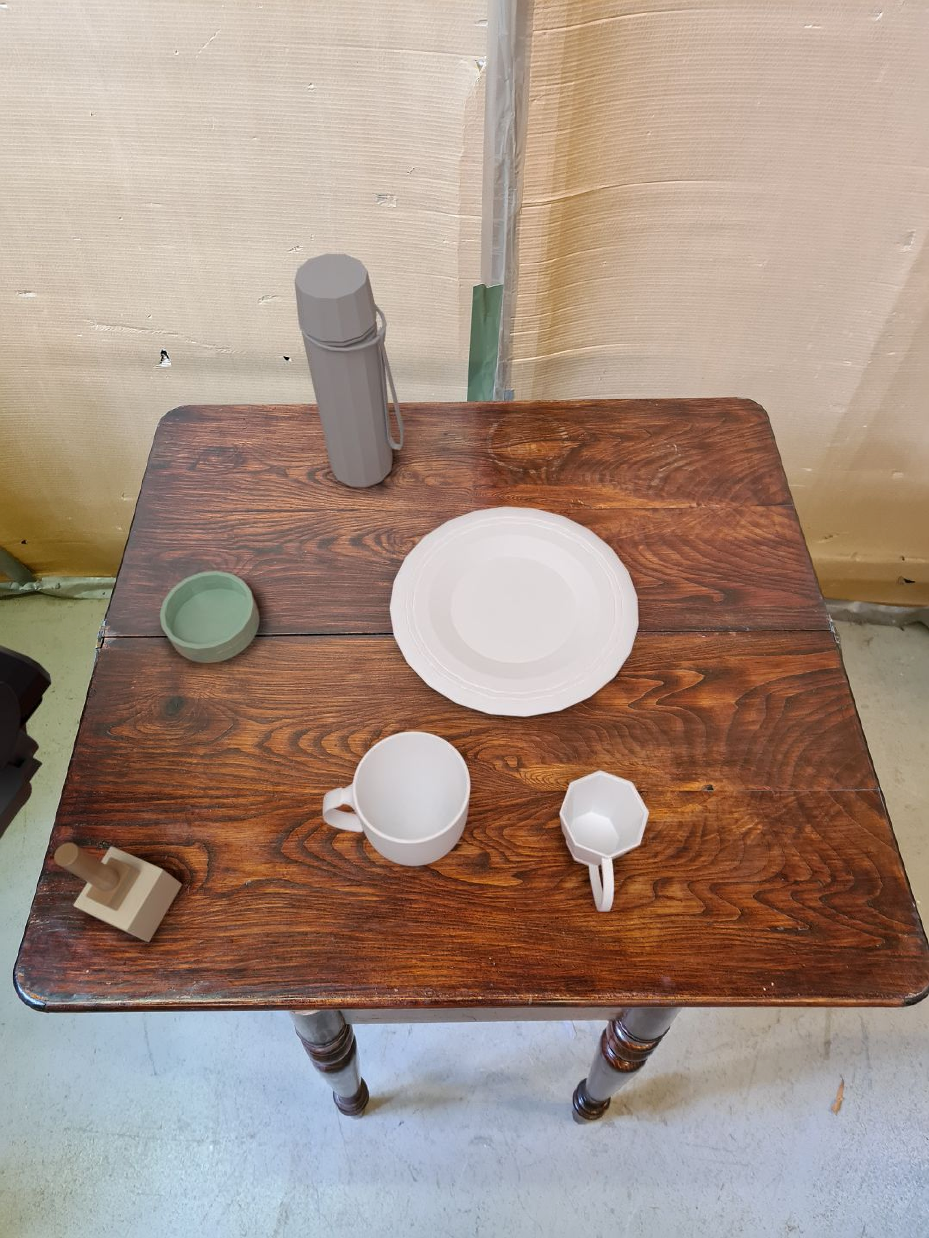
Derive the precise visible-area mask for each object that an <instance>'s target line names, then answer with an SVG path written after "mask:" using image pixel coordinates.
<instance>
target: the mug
mask: <svg viewBox="0 0 929 1238" xmlns="http://www.w3.org/2000/svg"><path fill="white" fill-rule="evenodd" d="M470 795H471V776H470V773H469V769H468V766H467V764H466V762H465V759H464V758H463V756H462V755H461V753H460V752H459V751H458V750H457V748H455V747H454V746H453V745H452V744H451V743H450V742H448V741H447V740H445V739H444V738H442V737H440V736H438V735H436V734H433V733H429V732H424V731H416V730H415V731H412V730H411V731H404V732H403V731H402V732H399V733H394V734H391V735H389V736H387V737H385V738H383V739H381V740H380V741H378V742H377V743H375V744H374V745H373V746H372V747H370V748H369V750H368V751H367V752H366V753H365V754H364V756H363V757H362V758H361V760H360V762H359V763H358V765H357V767H356V769H355V772H354V775H353V781H352V783H350V785H348V786H347V787H341V786H340V787H337V788H334V789H331V790H329V791H327V792H326V793H325V794H324V796H323V800H322V820H323V821H324V822H325V823H326V824H328V825H330V826H331V827H333V828H336V829H339V830H344V831H348V832H355V833H364V835H365V837H366V839H367V840H368V842H369V844H370V845H371V846H372V847H373V849H374V850H375V851H377V853H378V854H379V855H381V856H382V857H383V858H385V859H387V860H389V862H393V863H395V864H398V865H403V866H407V867H419V866H425V865H428V864H432V863H434V862H437V861H438V860H440V859H442V858H443V857H445V856H446V855H447V854H449V853H450V852H451V850H453V848H454V847H455V846H456V845H457V844H458V842H459V841H460V839H461V837H462V835H463V833H464V830H465V828H466V823H467V820H468V814H469V807H470ZM342 805H347V806H348V807H351V809H353V811H354V812H355V813H354V812H353V813H351V812H348V811H343V810H339V809H336V808H339V807H341V806H342Z"/></svg>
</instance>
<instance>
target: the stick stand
mask: <svg viewBox="0 0 929 1238" xmlns="http://www.w3.org/2000/svg"><path fill="white" fill-rule="evenodd" d="M110 857H112V858H114V859H117V860H119V861H121V862H123V863H126V864H128V865H130V866H132V867H133V868H135V869H136V870H137V871H139V872H140V874H139V876H138V877H137V879H136V881H135V882H134V884H133V886H132V887H131V889H130V891H129V892H128V894H127V895H126V897H125V899H124V900H123V902H122V904H121V905H120V907H119V909H118V910H117V911H114V910H112V909H110V908H108V907H106V906H103V905H101V904H99V903H97V902H95V901H93V900H91V899H90V898H88V897H86V894H87V893H88V891H89V890H90V888H91V886H92V885H91V884H90V883H88V882H86V884H85V885H84V887H83V889H82V890H81V892H80V893H79V895H78V897H77V898H76V900H75V901H74V903H73V907H75V908H76V909H78V910H80V911H82V912H84V913H86V914H88V915H90V916H92V917H94V918H96V919H97V920H100V921H102V922H104V923H107V924H108V925H110V926H112V927H114V928H117V929H119V930H121V931H123V932H125V933H127V934H129V935H132V936H134V937H137V938H138V939H140V940H142V941H145V942H147V943H150V941H151V940H152V938H153V936H154V934H155V933H156V931H157V929H158V927H160V924H161V922H162V921H163V919H164V917H165V915H166V914H167V912H168V910H169V908H170V907H171V905H172V903H173V902H174V899H175V898H176V897H177V895H178V893H179V891H180V889H181V888H182V886H183V884H182V883H181V882H180V881H179V880H178V879H176V878H175V877H174V876H172V875H171V874H170V873H168V871H166V870H165V869H163V868H161V867H159V866H157V865H154V864H152V863H150V862H148V861H146V860H143V859H142V858H139V857H138V856H137V857H136V856H135V855H132V854H130V853H128V852H125V851H123V850H121V849H119V848H116V847H115V846H113V845H111V846H110V847H109V848H108V850H107V851H106V853H105V855H104V856H103V858H102V859H101V860H100V861H101V862H102V863H104V864H106V863H107V861H108V860H109V858H110Z"/></svg>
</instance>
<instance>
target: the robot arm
mask: <svg viewBox="0 0 929 1238" xmlns="http://www.w3.org/2000/svg"><path fill="white" fill-rule="evenodd" d="M52 683H53V682H52V679H51V674H50V673H49V672H48V670H46V668H45V667H44V666H43V665H42V664H41V663H40V662H38V661H36V660H35V659H33V658H32V657H31V656H29V655H26V654H23V653H22V652H18V651H17V650H14V649H12V648H9V647H6V646H4V645H1V644H0V840H1V839H2V838H3V836H4V835H5V832H6V830H7V829H8V828H9V827H10V825H11V823H12V822H13V821H14V819H15V818H16V817H17V815H18V814H19V812H20V811H21V810H22V808H23V807H24V806H25V805H26V804H27V802H28V801H29V799H30V798H31V796H32V792H33V786H32V783H31V781H32V779H33V778H34V777H35V775H36V773H37V772H38V771H39V770H40V768H41V767H42V765H43V762H42V761H40V760H39V759H37V758H35V757H34V756H35V755H36V753H37V751H38V750H39V749H40V746H39V743H38V742H37V740H35V739H34V738H33V737H31V736H30V735H29V734H28V731H27V730H28V729H27V723H28V722H29V720H30V719H31V717H32V716H33V715H34V714H35V712H36V711H37V710H38V708H39V707H40V706H41V704H42V702H43V699H44V694H45V693H46V692H47V691H48V689H49V688H50V686H51V685H52Z"/></svg>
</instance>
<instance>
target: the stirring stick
mask: <svg viewBox="0 0 929 1238" xmlns="http://www.w3.org/2000/svg"><path fill="white" fill-rule="evenodd" d="M101 861H102V860H99V859H98V858H96V857H95V856H93V855H92V854H90V853H89V852H87V851H86V850H84V849H83V848H81V847H80V846H79V845H78V844H75V843H74V842H65V843H63V844H61V845H59V846H58V848H57V849H56V850H55V853H54V862H55V863H56V864H57V865H58V867H61V868H62V869H64V870H66V871H68V872H69V873H71V874H72V875H75V876H76V877H78V878H80V879H81V880H83V881H85V882H86V883H90V884H91V885H92V886H91V888H90V890H89V891H88V893H87V894H86V897H88V898H90V899H91V900H93V901H95V902H97V903H99V904H101V905H103V906H106V907H108V908H110V909H112V910H114V911H117V910H118V909H119V907H120V905H121V904H122V902H123V900H124V899H125V897H126V895H127V894H128V892H129V891H130V889H131V887H132V886H133V884H134V882H135V881H136V879H137V877H138V876H139V874H140V872H139V871H137V870H136V869H135V868H133V867H132V866H130V865H128V864H126V863H123V862H121V861H119V860H117V859H114V858H112V857H110V858H109V860H108V861H107V863H106V864H104V863H102V862H101Z"/></svg>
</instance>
